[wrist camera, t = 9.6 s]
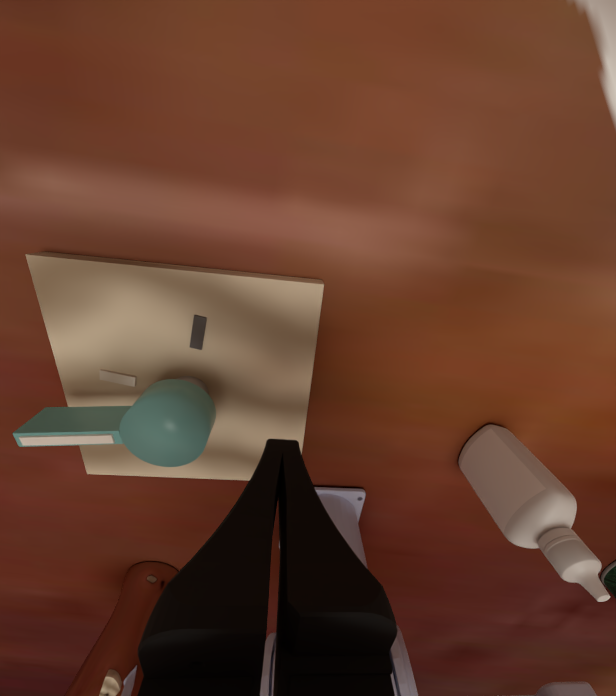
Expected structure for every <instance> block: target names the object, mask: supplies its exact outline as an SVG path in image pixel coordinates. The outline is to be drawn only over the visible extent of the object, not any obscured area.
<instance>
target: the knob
mask: <svg viewBox="0 0 616 696" xmlns="http://www.w3.org/2000/svg"><path fill="white" fill-rule="evenodd" d="M215 419H216V408H215V405H214V402H213V400H212V399H211V397H210V396H209V395H208V394H207V393H206V392H205V391H204V390H203V389H202V388H200V387H199V386H197V385H195V384H193V383H191V382H188V381H184V380H179V379H166V380H161V381H158V382H156V383H153V384H152V385H150V386H149V387H148V388H147V389H146V390H145V391H144V392H143V393H142V395H141V396H140V397H139V398H138V399H137V400H136V402H135V403H134V404H133V405H132V406H90V407H46V408H44V409H43V410H42V411H40V412H39V413H38V414H37V415H35V416H34V417H33V418H32V419H30V420H29V421H28V422H26V423H25V424H24V425H23V426H21V427H20V428H19V429H17V430H16V431H15V432H14V433H12V434H13V436H14V438H15V439H16V441H17V443H18V445H19V447H25V446H64V445H102V444H123V443H124V445H125V446H126V448H127V449H128V450H129V451H130V452H131V453H132V454H133V455H135V456H136V457H138V458H139V459H141V460H143V461H145V462H147V463H150V464H153V465H156V466H162V467H178V466H183V465H186V464H189V463H191V462H193V461H194V460H196V459H197V458H198V457H199V456H200V455H201V454H202V452H203V451H204V449H205V446H206V444H207V441H208V438H209V436H210V433H211V430H212V428H213V425H214V423H215Z"/></svg>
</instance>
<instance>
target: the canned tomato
mask: <svg viewBox="0 0 616 696" xmlns="http://www.w3.org/2000/svg"><path fill="white" fill-rule="evenodd" d="M601 581H602V583H603V584H604V585H605V586H606V587H607V588H608V589H609V590H610V592H611V593H612V594H613V595H614V597H615V598H616V561H614V562H613V563H611V564H610V565H609V566H608V567H607V568H605V570H604V571H603V572H602V575H601Z"/></svg>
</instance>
